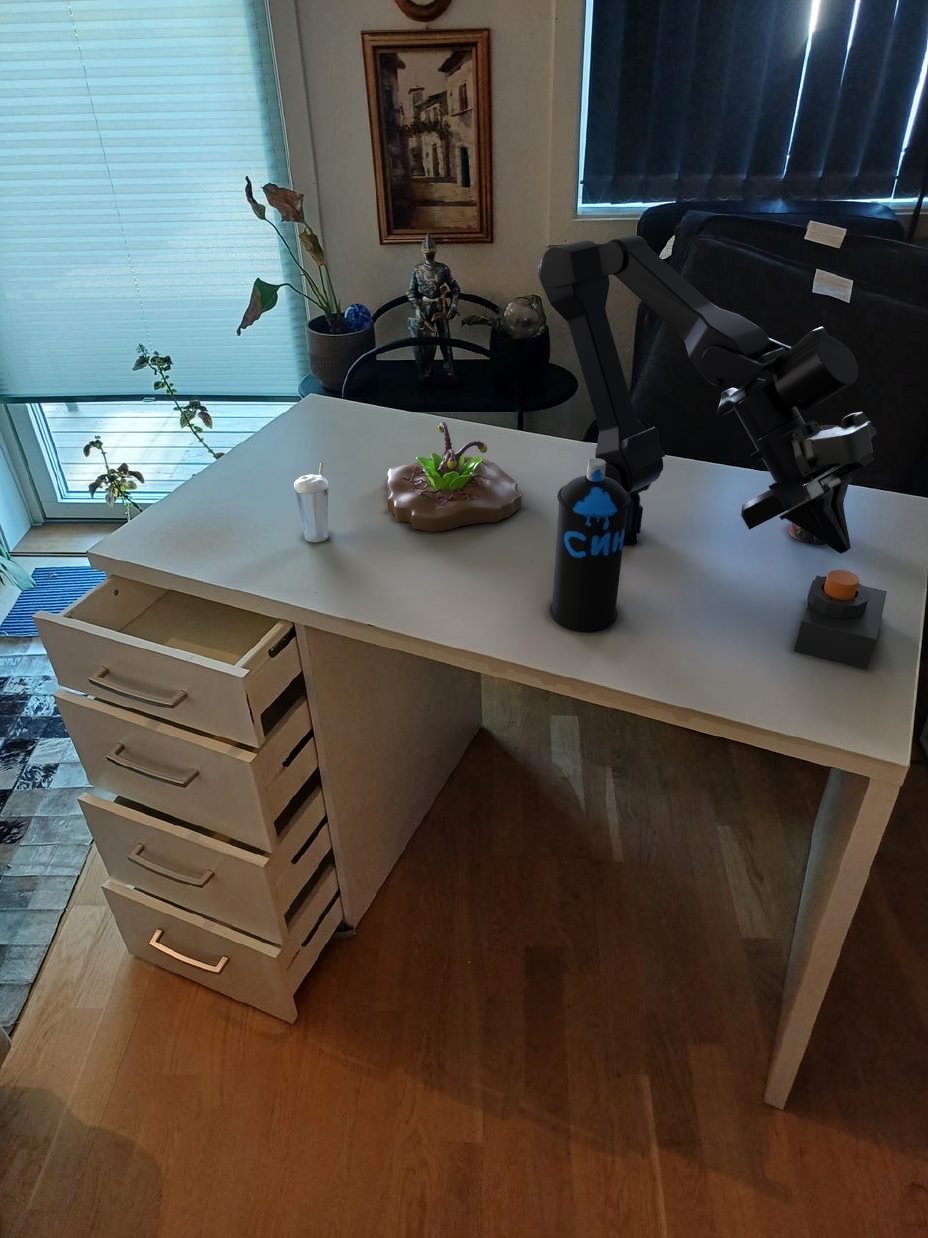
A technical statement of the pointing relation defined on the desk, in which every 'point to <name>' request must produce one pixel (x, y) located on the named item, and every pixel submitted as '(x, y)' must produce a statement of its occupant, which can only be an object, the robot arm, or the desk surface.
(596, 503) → the aerosol can
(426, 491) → the plant
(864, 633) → the push button box
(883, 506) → the desk surface
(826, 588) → the orange push button
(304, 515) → the milkshake
